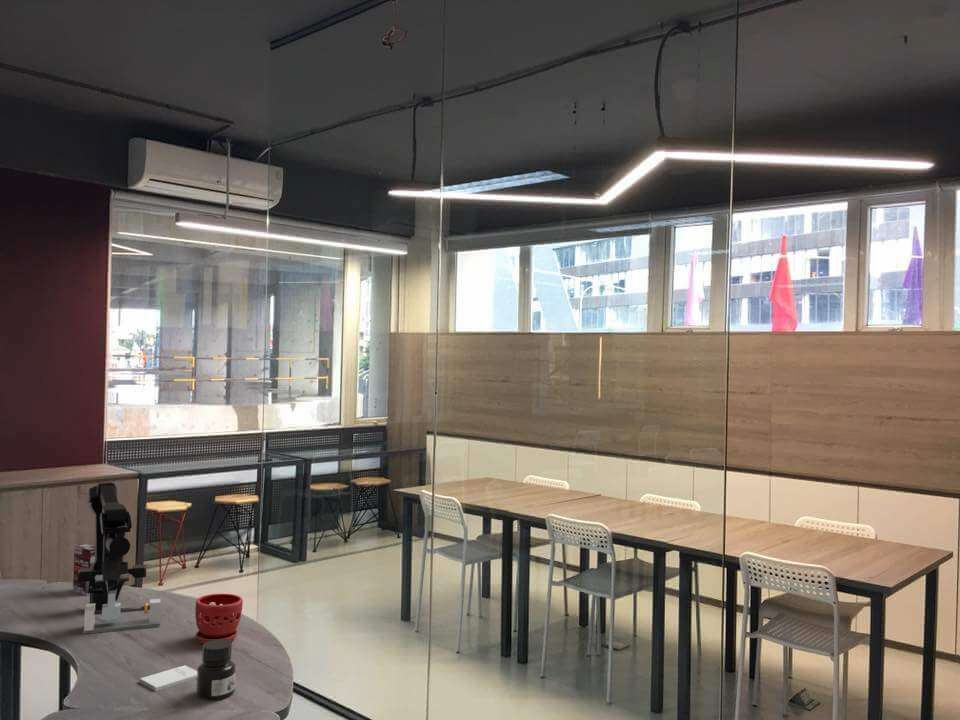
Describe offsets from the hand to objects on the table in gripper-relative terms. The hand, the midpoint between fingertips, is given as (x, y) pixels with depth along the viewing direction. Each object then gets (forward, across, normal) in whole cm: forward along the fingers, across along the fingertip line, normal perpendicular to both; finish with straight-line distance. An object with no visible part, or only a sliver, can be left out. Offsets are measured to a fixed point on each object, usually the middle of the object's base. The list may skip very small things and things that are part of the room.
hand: (111, 601), depth 234 cm
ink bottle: (+8, +26, -59) cm, 65 cm away
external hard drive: (+9, +16, -47) cm, 50 cm away
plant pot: (+8, +30, -20) cm, 37 cm away
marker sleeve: (+5, 0, 0) cm, 5 cm away
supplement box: (+8, -10, +42) cm, 44 cm away
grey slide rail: (+8, +3, 0) cm, 9 cm away
